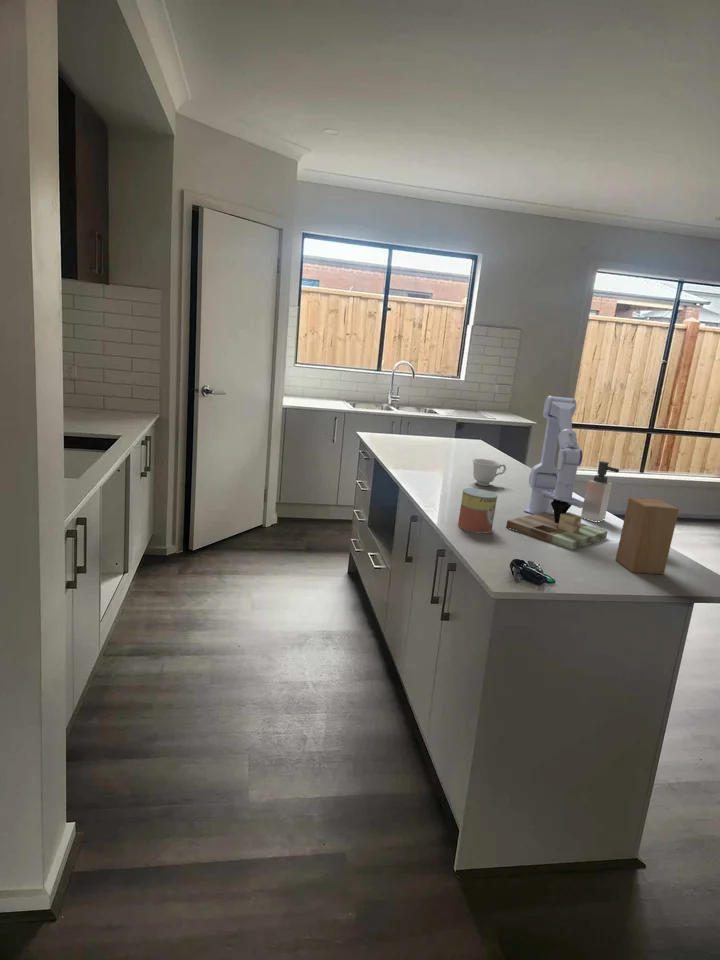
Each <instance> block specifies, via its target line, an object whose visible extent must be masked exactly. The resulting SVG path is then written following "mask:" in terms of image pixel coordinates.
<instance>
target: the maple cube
mask: <svg viewBox="0 0 720 960" xmlns="http://www.w3.org/2000/svg"><path fill="white" fill-rule="evenodd" d="M582 520H583V519H582V516H581V515H579V514H576V513H573V512H568V511H567V512H566V513H562V514H560V520H559V525H558V528H559V529H562V530H565V531H568V532H571V533H573V532H576V531H579V529H580V524H581V523H582Z"/></svg>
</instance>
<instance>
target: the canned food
mask: <svg viewBox="0 0 720 960" xmlns="http://www.w3.org/2000/svg"><path fill="white" fill-rule="evenodd" d="M497 501H498V494H497V493H496V492H493V491H490V490H487V489H482V488H476V487H475V488H474V487H473V488H472V487H471V488H469V487H468V488H463V489H462V496H461V503H460V509H459V515H458V516H459V517H458V523H457V528H459V527H460V529H461V528H462V529H461V530H463V529H464V531H466V530H468V531H467V532H469V531H472V532H471V533H474V532H479V533H478V534H488V533H487V532H490V533H492V531H493V525H494V518H495V514H496V513H495V512H496V505H497ZM485 532H486V533H485Z"/></svg>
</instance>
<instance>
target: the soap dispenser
mask: <svg viewBox="0 0 720 960" xmlns="http://www.w3.org/2000/svg"><path fill="white" fill-rule="evenodd" d="M609 463H610V462H608V461H605V460H604V461H601V460H599V461H598V467H597V475H594V477H593V479H591V480H587V485H586V488H585V489H586V490H585V493H584V494H585V495H584V498H583V499H584V500H583V502H584V506H583V508H581V515H580V516H582V518H585V519H589V520H593V521H597V522H598V521H601V520H603V519H606V515H607V509H608V504H609V500H610V496H611V495H610V494H611V490H612V485H613V482H609V481H608V476H607V471H610V472H614V473H619V472H620V468H616V467H612V466H609ZM585 519H584V520H585Z"/></svg>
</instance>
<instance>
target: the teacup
mask: <svg viewBox="0 0 720 960" xmlns="http://www.w3.org/2000/svg"><path fill="white" fill-rule="evenodd" d="M472 463H473V473H472V474H473V479H474V480H476V482H475V483H476V484H477V485H479V486H482V487H487V486H490V483H493V481H494V480H495V478H496V477H497V476H500V475H502V474H504V473H505V472H506V471H507V466H506V464H505V463H500V462H498V461H495V460H492V459H491V460H490V459H485V458H484V459H483V458H475V459H474V458H473V459H472ZM502 467H503V469H502V471H500V472H498V470H500V469H501V468H502Z"/></svg>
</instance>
